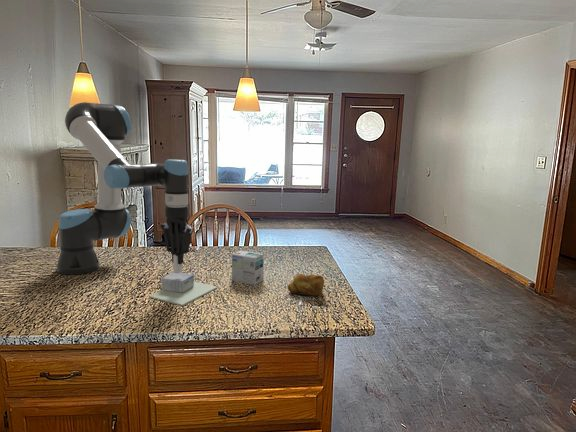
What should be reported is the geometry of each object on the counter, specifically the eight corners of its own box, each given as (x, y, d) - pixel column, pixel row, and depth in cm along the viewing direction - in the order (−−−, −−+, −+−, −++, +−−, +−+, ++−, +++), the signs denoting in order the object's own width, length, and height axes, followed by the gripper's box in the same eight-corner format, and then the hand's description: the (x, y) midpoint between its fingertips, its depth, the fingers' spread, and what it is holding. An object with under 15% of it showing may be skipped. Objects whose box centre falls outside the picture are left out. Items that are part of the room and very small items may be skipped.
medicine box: (160, 289, 144) (182, 293, 142) (160, 277, 144) (182, 281, 141) (173, 282, 152) (194, 286, 149) (173, 271, 151) (194, 274, 149)
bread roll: (286, 296, 145) (286, 274, 143) (290, 286, 154) (290, 266, 153) (322, 299, 143) (323, 277, 141) (324, 289, 152) (325, 268, 151)
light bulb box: (263, 280, 159) (264, 253, 157) (255, 285, 153) (255, 258, 151) (240, 275, 164) (240, 249, 162) (230, 280, 158) (231, 253, 156)
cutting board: (149, 297, 139) (149, 296, 139) (186, 281, 156) (186, 279, 156) (182, 306, 133) (182, 304, 133) (217, 288, 150) (217, 286, 150)
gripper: (154, 205, 139) (155, 271, 144) (184, 209, 134) (185, 278, 138) (169, 202, 146) (170, 266, 150) (199, 206, 140) (199, 272, 145)
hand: (177, 272), depth 144 cm, fingers closed
